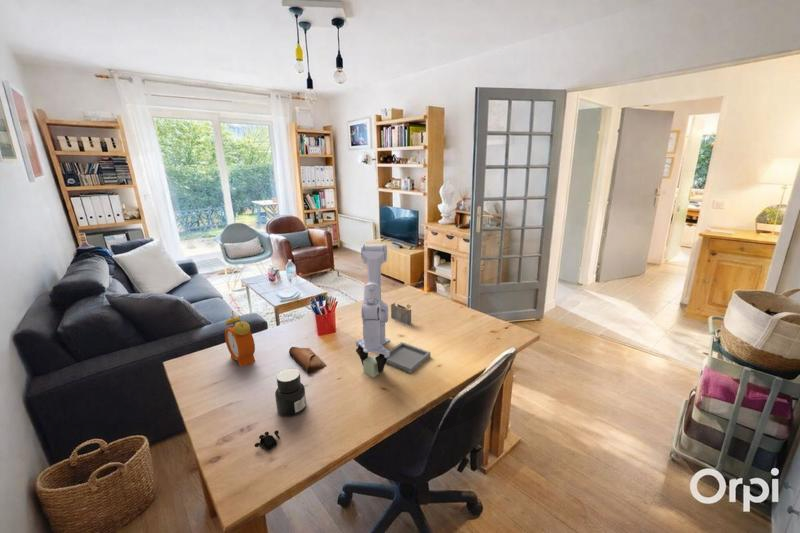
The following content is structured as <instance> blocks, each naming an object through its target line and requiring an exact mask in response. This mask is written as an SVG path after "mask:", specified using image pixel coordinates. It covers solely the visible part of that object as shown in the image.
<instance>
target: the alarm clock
mask: <svg viewBox="0 0 800 533" xmlns="http://www.w3.org/2000/svg"><path fill="white" fill-rule="evenodd" d="M234 313H235V314H236V315H238V316H234ZM231 314H232V316H230V318H229V319H227V320H226V321H225V324H224V325H225V326H229V325H231V326H229V327H226V328H225V331H224V340H225V344H226V346H227V349H228V352H229V354H230V358H231V359H232V360H235V361H237V363H238V365H239V366H240V367H241V368H243V367H245V366H248V365H250V364H252V363H255V362H256V359H255V356H254V354H255V351H256V343H255V340H254V337H253V334H252V331H251V326H250V324H249V323H248V322H246V321H242V319H241V315H240V314H239V313H238V312H236V311H234V310H232V311H231Z"/></svg>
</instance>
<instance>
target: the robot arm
mask: <svg viewBox="0 0 800 533" xmlns="http://www.w3.org/2000/svg"><path fill="white" fill-rule="evenodd" d="M360 258H361V260H362V262H363V264H365V265H366V266H367V268H366V269H367V272H366V274H367V283H366V284H365V285H364V287H363V289H364V290H363V304H362V306H361V312H360V313H361V320H362V325H363V326H362V339H357V340H356V341H355V346H356V347H357V348H356V349H355V352H356V353H357V355H358V356H359V358H360V362H361V364H362V366H363V361H364V360H365V359H367V358H368V357H369V353H372V354H373V353H374V354H378V355H377V356H376V358H375V359H376V361H377V365H378V373H379V374H381V373H383V372H384V370H385V366H386V361H387V359H388V357H389V356H390V350H388V349H387V348H386V347H384V345H385V344H387V343H389V341H390V340H391V339H390V338H387V337H386V323H388V322H389V305H388V303H387V302H385V301H384V300H382V265H383V264H385V263H386V262H387V261H388V246H387V244H386V243H384V244H381V243H379V244H377V243H376V244H373V243H371V244H365V243H363V244H362V245H361V247H360Z"/></svg>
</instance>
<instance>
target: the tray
mask: <svg viewBox="0 0 800 533" xmlns="http://www.w3.org/2000/svg"><path fill="white" fill-rule="evenodd" d="M389 351H390V356H389V357H388V359H387V361H386V363H385V365H389V366H391V367H394V368H396V369H398V370H401V371H402V372H405V373H408V374H412V373H413V372H414V371H415V370H417V369H418V368H419V367H420V366H421V365H423V364H424V363H425V362H426V361H427V360H428V359H429V358H431V352H430V351H427V350H425V349H423V348H419V347H417V346H413V345H412V344H408V343H405V342H402V341H401V342H400V343H398V344H397V345H395V346H394V347H393V348H391V349H390V350H389Z"/></svg>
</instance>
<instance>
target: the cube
mask: <svg viewBox="0 0 800 533" xmlns="http://www.w3.org/2000/svg"><path fill="white" fill-rule="evenodd" d="M376 357H377V356H375V355H373V354H371V355H369V356H368V358H367V359H365V360H364V361H363V365H362V369H363V370H362V371H363V373H364V374H366V375H368V376H370V377H373V378H375V377H376V376H378V375H379V374H380V373H378V365H377V361H376V359H375V358H376Z"/></svg>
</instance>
